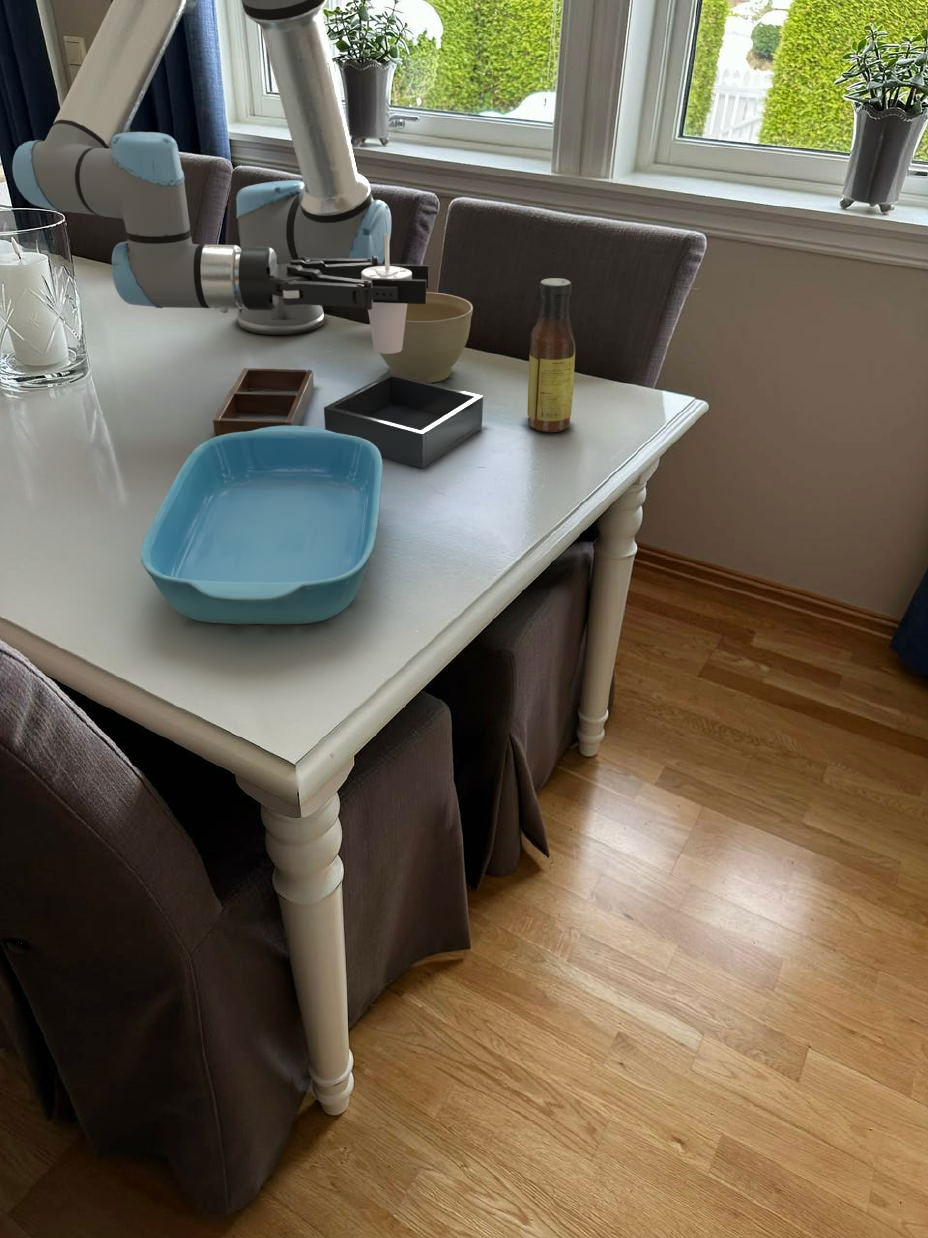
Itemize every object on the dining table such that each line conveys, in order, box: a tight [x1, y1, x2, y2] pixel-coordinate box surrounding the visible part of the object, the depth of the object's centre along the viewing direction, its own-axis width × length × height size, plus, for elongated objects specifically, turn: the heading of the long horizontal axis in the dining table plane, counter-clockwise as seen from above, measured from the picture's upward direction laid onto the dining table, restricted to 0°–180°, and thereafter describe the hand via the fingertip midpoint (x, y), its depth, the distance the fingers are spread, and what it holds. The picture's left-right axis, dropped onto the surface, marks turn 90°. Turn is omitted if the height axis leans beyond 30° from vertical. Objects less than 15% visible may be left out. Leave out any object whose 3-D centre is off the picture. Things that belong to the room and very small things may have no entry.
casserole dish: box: [140, 425, 384, 625], centre depth 96 cm, size 37×22×7 cm, turn 2°
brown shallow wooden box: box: [212, 367, 315, 437], centre depth 128 cm, size 20×10×3 cm, turn 0°
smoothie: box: [361, 234, 412, 354], centre depth 114 cm, size 6×6×14 cm
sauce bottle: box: [526, 277, 576, 433], centre depth 123 cm, size 7×6×20 cm
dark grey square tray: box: [323, 372, 484, 470], centre depth 123 cm, size 16×16×5 cm
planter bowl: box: [367, 291, 474, 384], centre depth 141 cm, size 16×16×11 cm
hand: (427, 283), depth 113 cm, fingers closed on smoothie, 6 cm apart
